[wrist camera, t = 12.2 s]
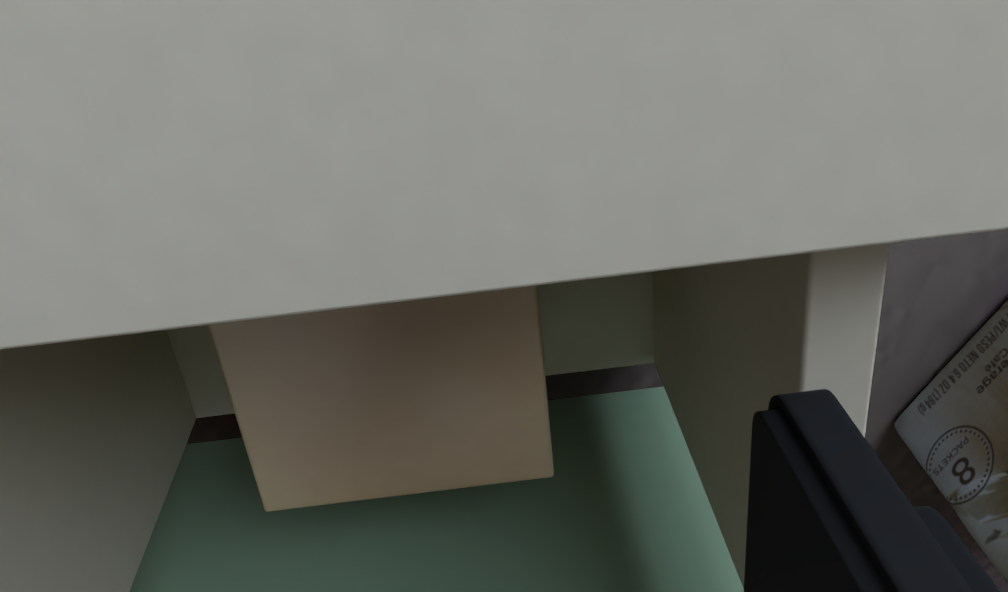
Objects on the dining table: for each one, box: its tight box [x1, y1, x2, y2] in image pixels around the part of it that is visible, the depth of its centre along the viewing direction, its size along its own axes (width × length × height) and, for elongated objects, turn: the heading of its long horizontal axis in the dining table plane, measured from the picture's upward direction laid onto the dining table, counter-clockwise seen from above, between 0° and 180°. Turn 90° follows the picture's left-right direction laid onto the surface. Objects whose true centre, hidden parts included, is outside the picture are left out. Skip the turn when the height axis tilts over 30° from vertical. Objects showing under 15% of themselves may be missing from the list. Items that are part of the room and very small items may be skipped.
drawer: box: [0, 243, 889, 592], centre depth 14 cm, size 19×13×9 cm
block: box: [208, 286, 554, 512], centre depth 15 cm, size 4×4×4 cm
